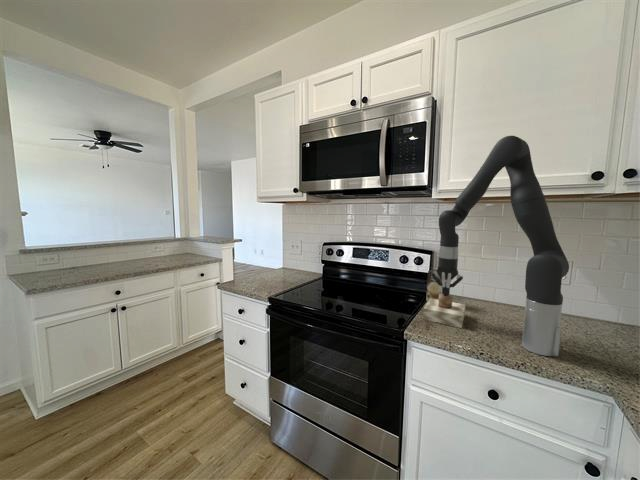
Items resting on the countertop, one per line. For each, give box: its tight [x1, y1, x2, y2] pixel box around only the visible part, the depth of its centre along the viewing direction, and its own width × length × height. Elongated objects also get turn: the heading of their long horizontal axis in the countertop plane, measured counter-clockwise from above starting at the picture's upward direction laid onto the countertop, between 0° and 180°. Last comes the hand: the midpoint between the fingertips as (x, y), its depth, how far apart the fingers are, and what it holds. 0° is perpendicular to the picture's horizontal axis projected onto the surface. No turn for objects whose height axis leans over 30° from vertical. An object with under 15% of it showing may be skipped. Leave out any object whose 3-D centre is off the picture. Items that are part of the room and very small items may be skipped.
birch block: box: [422, 298, 466, 329], centre depth 116 cm, size 15×16×5 cm
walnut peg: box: [438, 294, 453, 309], centre depth 116 cm, size 5×5×10 cm
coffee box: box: [425, 269, 447, 302], centre depth 135 cm, size 9×6×16 cm
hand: (445, 295), depth 115 cm, fingers closed
